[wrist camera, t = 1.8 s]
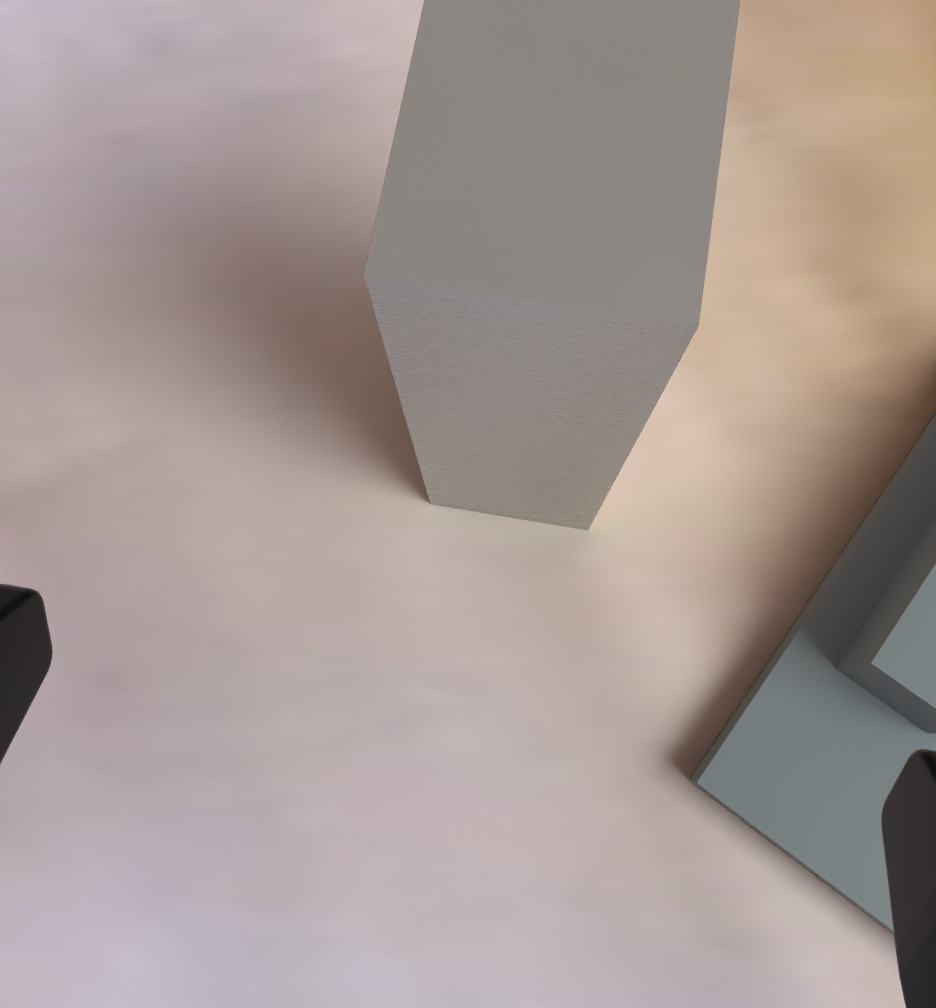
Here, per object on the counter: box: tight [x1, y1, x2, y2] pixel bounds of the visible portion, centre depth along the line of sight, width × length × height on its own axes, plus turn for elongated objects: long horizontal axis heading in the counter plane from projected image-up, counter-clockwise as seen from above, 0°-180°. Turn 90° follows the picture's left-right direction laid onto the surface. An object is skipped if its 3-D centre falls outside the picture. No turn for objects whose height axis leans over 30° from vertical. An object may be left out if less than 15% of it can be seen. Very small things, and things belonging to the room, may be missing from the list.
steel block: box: [363, 0, 740, 530], centre depth 17 cm, size 5×4×12 cm
